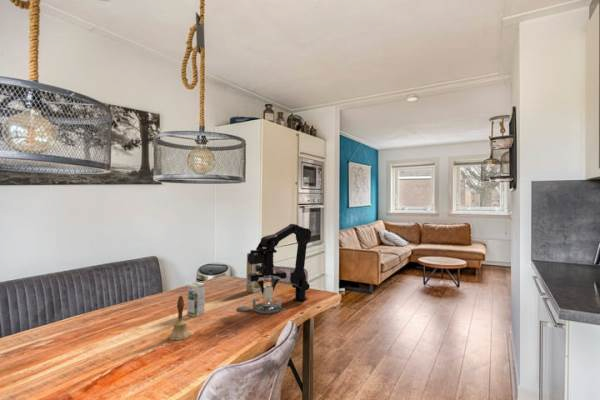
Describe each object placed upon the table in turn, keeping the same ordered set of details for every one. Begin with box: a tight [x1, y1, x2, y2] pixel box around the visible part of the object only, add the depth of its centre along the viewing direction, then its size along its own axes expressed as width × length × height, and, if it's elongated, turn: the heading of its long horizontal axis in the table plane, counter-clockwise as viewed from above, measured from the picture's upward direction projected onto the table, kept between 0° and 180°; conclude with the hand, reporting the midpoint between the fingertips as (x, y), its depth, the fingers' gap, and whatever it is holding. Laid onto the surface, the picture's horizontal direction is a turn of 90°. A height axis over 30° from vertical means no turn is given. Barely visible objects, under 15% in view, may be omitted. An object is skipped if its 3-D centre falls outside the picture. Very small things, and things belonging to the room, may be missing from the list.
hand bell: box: [168, 295, 192, 341], centre depth 126 cm, size 8×8×16 cm
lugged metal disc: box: [252, 297, 282, 315], centre depth 159 cm, size 14×14×5 cm
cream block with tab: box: [260, 284, 274, 303], centre depth 159 cm, size 10×4×6 cm, turn 27°
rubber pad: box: [236, 305, 252, 313], centre depth 158 cm, size 7×7×1 cm
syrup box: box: [186, 281, 206, 318], centre depth 151 cm, size 6×6×14 cm
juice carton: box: [245, 252, 264, 293], centre depth 191 cm, size 9×8×24 cm
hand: (267, 293), depth 159 cm, fingers closed on cream block with tab, 4 cm apart
